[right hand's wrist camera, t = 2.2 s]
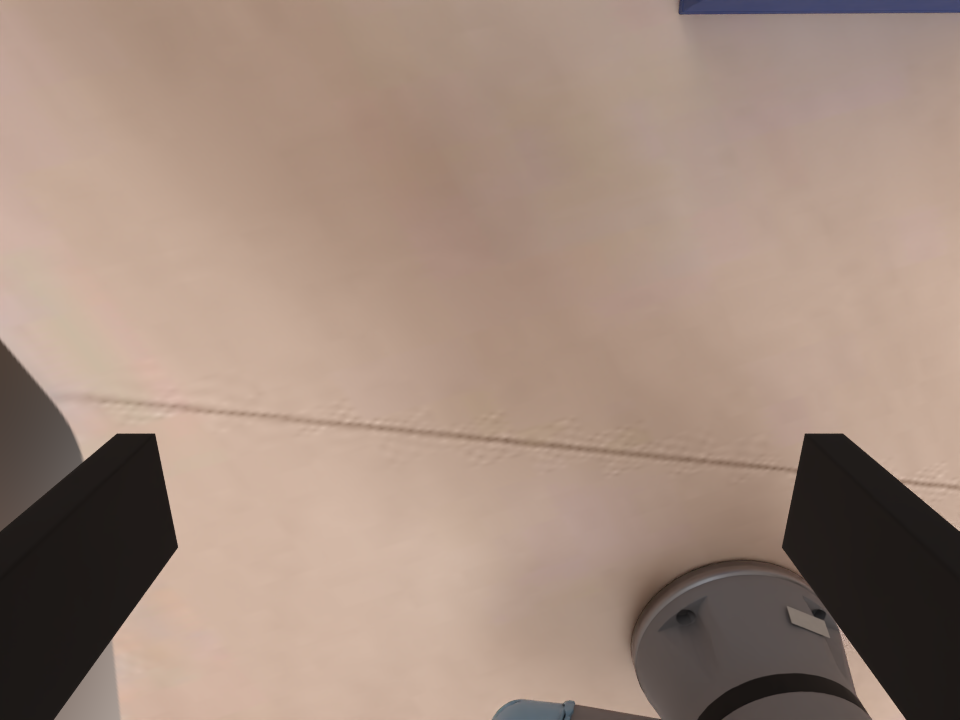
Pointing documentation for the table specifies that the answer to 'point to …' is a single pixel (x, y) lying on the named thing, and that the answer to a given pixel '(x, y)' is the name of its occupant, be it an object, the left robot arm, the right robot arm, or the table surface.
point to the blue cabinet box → (817, 6)
